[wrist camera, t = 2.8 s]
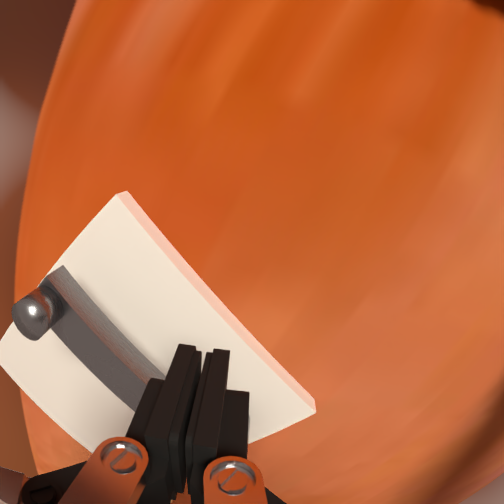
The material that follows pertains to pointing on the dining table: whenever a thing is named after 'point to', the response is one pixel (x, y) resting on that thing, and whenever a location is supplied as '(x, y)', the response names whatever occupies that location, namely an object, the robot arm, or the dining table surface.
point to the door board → (144, 332)
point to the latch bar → (86, 335)
